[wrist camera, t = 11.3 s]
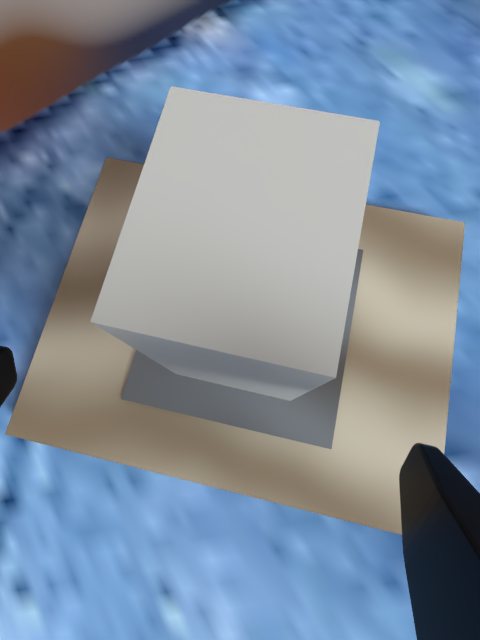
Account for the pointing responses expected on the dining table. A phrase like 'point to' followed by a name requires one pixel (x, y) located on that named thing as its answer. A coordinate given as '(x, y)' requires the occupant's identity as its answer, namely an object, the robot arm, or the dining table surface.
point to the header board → (253, 408)
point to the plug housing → (242, 243)
